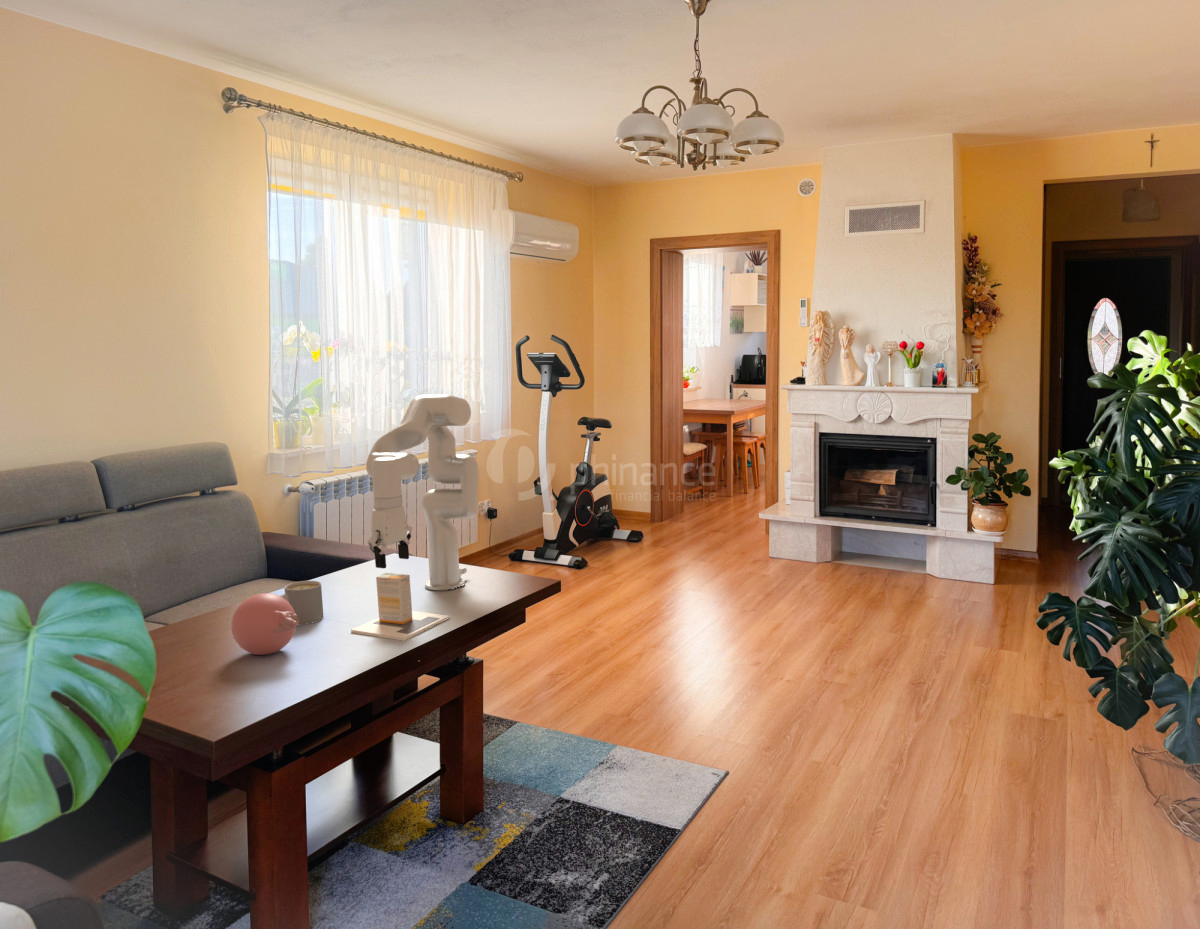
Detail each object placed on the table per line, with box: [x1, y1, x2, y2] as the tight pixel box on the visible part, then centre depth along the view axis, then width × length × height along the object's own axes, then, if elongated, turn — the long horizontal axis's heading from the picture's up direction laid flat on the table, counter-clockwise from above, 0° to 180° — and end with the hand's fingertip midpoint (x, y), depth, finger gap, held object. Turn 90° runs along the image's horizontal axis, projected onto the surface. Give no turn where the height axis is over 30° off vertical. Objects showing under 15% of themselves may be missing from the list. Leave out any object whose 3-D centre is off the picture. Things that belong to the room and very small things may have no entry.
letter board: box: [350, 610, 450, 642], centre depth 240 cm, size 20×18×1 cm
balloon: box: [230, 592, 299, 656], centre depth 218 cm, size 15×20×15 cm
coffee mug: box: [279, 580, 324, 625], centre depth 247 cm, size 13×10×10 cm
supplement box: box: [375, 572, 413, 624], centre depth 240 cm, size 8×5×13 cm, turn 68°
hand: (392, 563), depth 239 cm, fingers open, 9 cm apart
